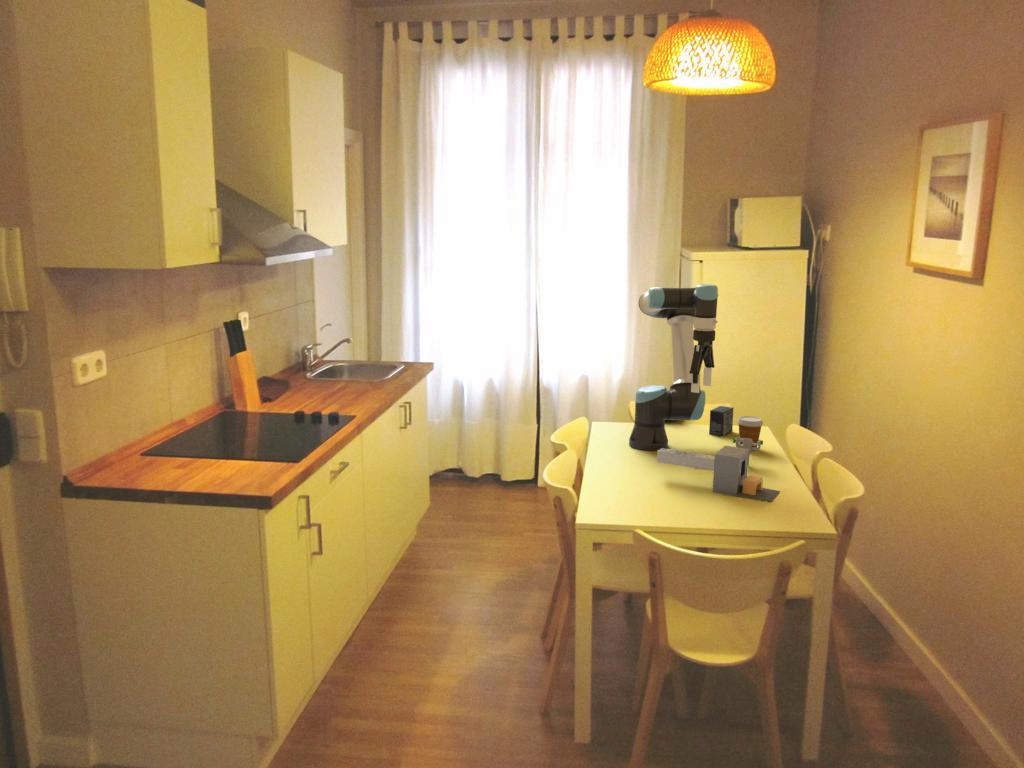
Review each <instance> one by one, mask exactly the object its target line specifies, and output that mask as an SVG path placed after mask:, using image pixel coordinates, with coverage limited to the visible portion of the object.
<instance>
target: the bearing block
mask: <svg viewBox="0 0 1024 768" xmlns="http://www.w3.org/2000/svg"><path fill="white" fill-rule="evenodd" d="M748 454H749V449H745V448H738V447H736V446H729V445H724V446H723V447H722V448H720V449H719V450H718V451H717V452H715V453H714V456H715V459H714V471H713V474H712V476H713V478H712V493H713V494H719V495H725V496H726V495H727V496H731V497H737V495H738V494H739V493H740V492H741V490H742V489H743V480H744V479H746V478H747V477H748V469H749V465H748ZM737 498H738V497H737Z"/></svg>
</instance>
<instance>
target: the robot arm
mask: <svg viewBox="0 0 1024 768" xmlns="http://www.w3.org/2000/svg"><path fill="white" fill-rule="evenodd" d="M718 293H719V288H718V286H717V285H715V284H707V283H706V284H704V283H703V284H698V285H696V286H695V287H663V286H662V287H660V286H656V287H650V288H649V289H648V290H646V291H645V292H643V293H642V294H641V295H640V296H639V298H638V307H639V309H640V311H641V312H642V313H643V314H644V315H646V316H649V317H651V318H656V319H666V323H667V324H668V326H670V327H671V328H670V329H671V348H672V349H671V350H672V353H671V354H672V355H671V356H672V373H673V375H672V376H673V382H672V384H671V385H670V386H669V389H668V388H667V387H666V386H665V385H659V384H658V385H657V384H655V385H654V384H653V385H645V386H643V387H641V388H639V389H637V390H636V391H635V399H634V425H633V428H632V431H631V433H630V436H629V438H628V439H629V440H628V445H629V446H630V447H631V448H633V449H636V450H637V449H638V450H643V451H644V450H645V451H658V450H660V449H661V448H664V449H668V448H669V447H668V446H669V439H668V435H667V431H666V429H665V426H666V425H665V424H666V423H665V422H666V421H689V422H690V421H698V420H701V418H702V417H703V415H704V410H705V406H706V391H705V390H703V389H701V373H700V372H701V368H702V365H703V364H704V367H703V372H702V373H703V375H702V376H703V377H702V386H705V387H711V386H712V372H713V369H714V368H715V359H714V357H715V356H714V349H713V343H714V342H715V340H716V330H715V329H716V328H717V326H716V325H717V324H718V320H717V311H718V297H719V294H718ZM695 342H697V344H695ZM667 389H668V390H667Z"/></svg>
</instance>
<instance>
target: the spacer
mask: <svg viewBox="0 0 1024 768" xmlns="http://www.w3.org/2000/svg"><path fill="white" fill-rule="evenodd" d="M763 479H764V478H763V476H760V475H754V474H750V475H747V478H746V479H744V480H743V493H746V494H750V495H756V490H760V491H761V490H762V488H763Z"/></svg>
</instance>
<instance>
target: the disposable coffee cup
mask: <svg viewBox="0 0 1024 768" xmlns="http://www.w3.org/2000/svg"><path fill="white" fill-rule="evenodd" d="M737 424H738V436H739V437H738V438H751V439H752V441H753V443H757V442H758V440H760V434H761V430H762V426H763V424H764V422H763V419H762V418H761V417H757V416H749V415H746V416H745V415H742V416H740V417H738V420H737ZM739 444H743V442H740V443H739ZM757 447H758V446H752V448H757ZM752 451H753V450H751V452H752Z"/></svg>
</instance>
